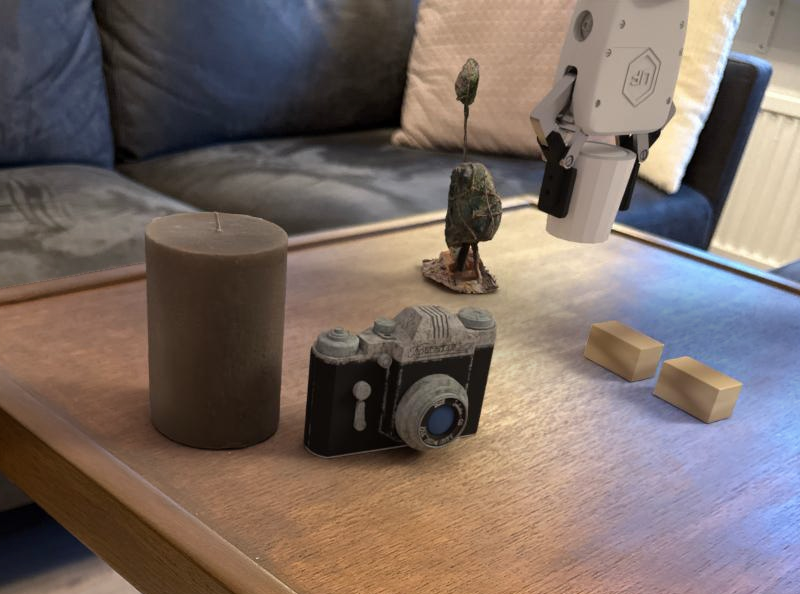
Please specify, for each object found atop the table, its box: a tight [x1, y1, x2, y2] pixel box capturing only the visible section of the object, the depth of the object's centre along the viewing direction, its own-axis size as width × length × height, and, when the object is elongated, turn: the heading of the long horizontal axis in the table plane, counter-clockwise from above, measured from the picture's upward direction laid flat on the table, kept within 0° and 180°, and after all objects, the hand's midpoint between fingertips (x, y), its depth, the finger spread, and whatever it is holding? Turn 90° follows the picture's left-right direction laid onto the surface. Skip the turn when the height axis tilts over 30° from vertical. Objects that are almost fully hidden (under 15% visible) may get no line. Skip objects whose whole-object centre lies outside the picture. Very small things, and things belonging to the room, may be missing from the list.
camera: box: [302, 304, 499, 459], centre depth 70 cm, size 15×7×10 cm, turn 115°
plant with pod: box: [421, 57, 504, 295], centre depth 96 cm, size 8×11×20 cm
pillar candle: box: [144, 210, 289, 450], centre depth 69 cm, size 10×10×15 cm
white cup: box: [545, 140, 636, 245], centre depth 86 cm, size 7×7×7 cm
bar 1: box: [583, 319, 665, 383], centre depth 87 cm, size 6×3×3 cm, turn 32°
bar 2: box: [652, 355, 744, 424], centre depth 82 cm, size 6×3×3 cm, turn 32°
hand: (583, 208), depth 87 cm, fingers closed on white cup, 6 cm apart
